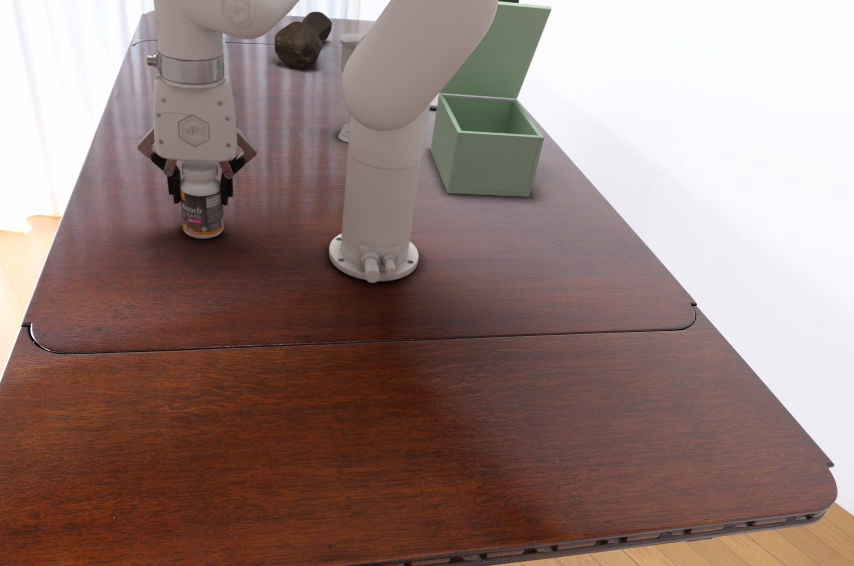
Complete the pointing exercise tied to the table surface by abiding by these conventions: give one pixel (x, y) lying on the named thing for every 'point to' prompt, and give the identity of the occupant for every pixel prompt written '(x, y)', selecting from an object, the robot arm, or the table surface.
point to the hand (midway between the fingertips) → (201, 198)
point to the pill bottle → (201, 200)
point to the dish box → (485, 146)
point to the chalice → (347, 49)
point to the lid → (502, 53)
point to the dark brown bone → (302, 41)
